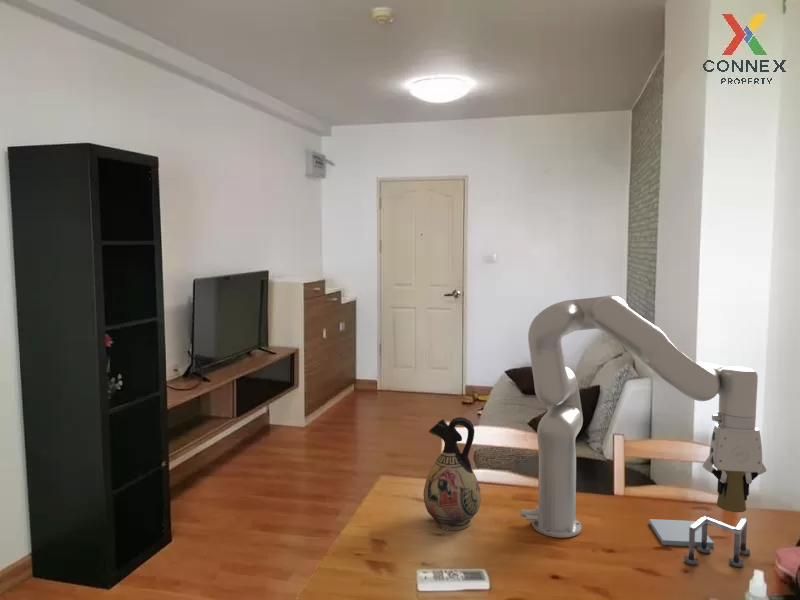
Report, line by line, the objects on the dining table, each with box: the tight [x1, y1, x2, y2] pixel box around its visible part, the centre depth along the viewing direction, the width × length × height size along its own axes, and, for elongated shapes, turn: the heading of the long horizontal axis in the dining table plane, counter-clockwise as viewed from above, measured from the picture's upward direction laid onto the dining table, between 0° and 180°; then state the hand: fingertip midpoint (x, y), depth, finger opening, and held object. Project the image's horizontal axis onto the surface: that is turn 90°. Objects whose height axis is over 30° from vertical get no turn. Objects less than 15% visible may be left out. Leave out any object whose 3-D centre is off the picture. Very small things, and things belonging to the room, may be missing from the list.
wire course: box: [683, 515, 751, 569], centre depth 144 cm, size 17×9×9 cm, turn 83°
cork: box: [716, 471, 747, 513], centre depth 140 cm, size 6×6×11 cm
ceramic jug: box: [422, 416, 482, 531], centre depth 161 cm, size 17×15×30 cm
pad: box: [648, 518, 715, 548], centre depth 155 cm, size 12×12×1 cm
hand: (732, 496), depth 140 cm, fingers closed on cork, 3 cm apart
